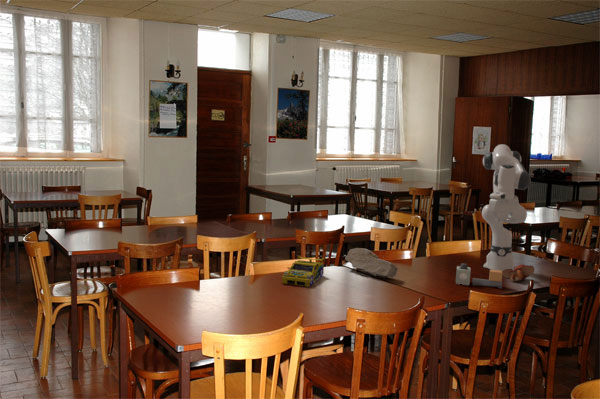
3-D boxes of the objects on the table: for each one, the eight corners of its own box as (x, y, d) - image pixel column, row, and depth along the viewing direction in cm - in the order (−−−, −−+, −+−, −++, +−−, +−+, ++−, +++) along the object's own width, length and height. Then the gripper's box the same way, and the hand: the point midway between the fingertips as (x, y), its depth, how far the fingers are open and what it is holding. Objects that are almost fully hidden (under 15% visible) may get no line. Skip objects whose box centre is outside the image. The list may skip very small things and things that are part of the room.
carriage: (488, 282, 314) (489, 269, 313) (500, 283, 312) (501, 270, 311) (489, 284, 309) (490, 271, 308) (501, 285, 307) (502, 272, 307)
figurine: (533, 283, 314) (544, 273, 324) (527, 268, 314) (538, 258, 324) (500, 288, 328) (511, 278, 338) (495, 274, 328) (506, 264, 338)
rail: (472, 282, 316) (472, 277, 316) (501, 285, 312) (501, 280, 312) (472, 285, 311) (472, 279, 311) (502, 288, 307) (502, 282, 307)
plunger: (460, 272, 316) (460, 263, 316) (466, 272, 316) (467, 263, 315) (460, 273, 313) (460, 264, 313) (466, 274, 312) (467, 265, 312)
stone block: (393, 287, 313) (403, 261, 317) (383, 279, 307) (393, 253, 311) (346, 275, 338) (356, 252, 342) (336, 268, 332) (346, 244, 336)
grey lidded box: (455, 280, 320) (457, 266, 319) (469, 281, 318) (470, 267, 317) (455, 284, 312) (456, 269, 311) (469, 285, 310) (470, 270, 309)
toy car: (280, 284, 298) (281, 264, 296) (297, 272, 323) (298, 254, 322) (310, 287, 293) (311, 268, 292) (324, 275, 319) (325, 257, 317)
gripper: (513, 194, 320) (511, 219, 321) (487, 194, 309) (485, 220, 311) (522, 195, 315) (520, 221, 316) (497, 195, 304) (495, 222, 305)
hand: (503, 220), depth 313 cm, fingers open, 8 cm apart
